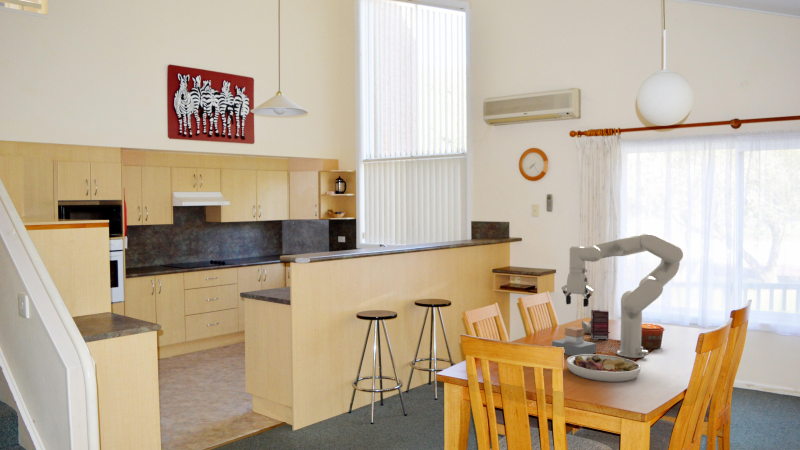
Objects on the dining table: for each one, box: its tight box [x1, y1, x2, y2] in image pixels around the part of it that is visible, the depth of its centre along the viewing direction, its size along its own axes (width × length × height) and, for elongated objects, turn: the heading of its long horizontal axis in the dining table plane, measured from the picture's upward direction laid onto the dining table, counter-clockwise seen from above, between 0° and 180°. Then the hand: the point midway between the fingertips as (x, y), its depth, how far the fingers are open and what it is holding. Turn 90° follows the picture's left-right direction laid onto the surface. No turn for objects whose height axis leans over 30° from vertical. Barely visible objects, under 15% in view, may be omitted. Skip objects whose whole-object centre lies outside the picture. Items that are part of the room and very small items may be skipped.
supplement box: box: [590, 309, 610, 341], centre depth 321 cm, size 9×5×16 cm, turn 84°
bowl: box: [566, 353, 641, 383], centre depth 251 cm, size 30×30×8 cm
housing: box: [564, 326, 585, 344], centre depth 288 cm, size 6×6×7 cm
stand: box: [551, 338, 597, 357], centre depth 288 cm, size 16×14×5 cm
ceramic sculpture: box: [581, 320, 611, 335], centre depth 334 cm, size 11×9×15 cm
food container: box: [641, 323, 665, 350], centre depth 305 cm, size 16×16×11 cm
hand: (577, 305), depth 290 cm, fingers open, 9 cm apart
